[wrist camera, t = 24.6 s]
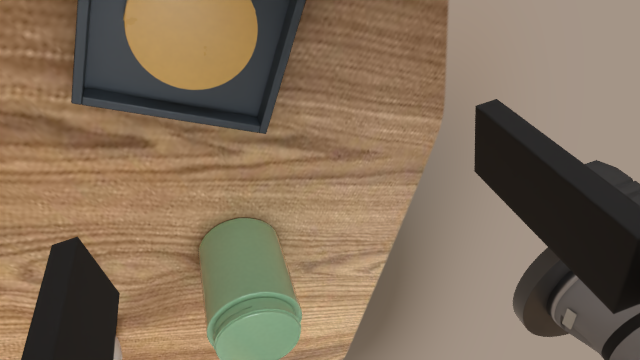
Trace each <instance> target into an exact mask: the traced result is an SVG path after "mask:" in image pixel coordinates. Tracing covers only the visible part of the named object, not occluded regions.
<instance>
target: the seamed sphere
mask: <svg viewBox="0 0 640 360" xmlns="http://www.w3.org/2000/svg"><path fill="white" fill-rule="evenodd" d="M113 360H122V351H121V346H120V342H119V340H118V338H117V337H115V348H114V359H113Z"/></svg>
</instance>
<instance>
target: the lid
mask: <svg viewBox="0 0 640 360" xmlns="http://www.w3.org/2000/svg"><path fill="white" fill-rule="evenodd" d="M255 12H256V10H255V8H254V7H253V4H252V2H251V0H127V2H126V7H125V13H124V16H123V20H124V27H125V34H126V38H127V41H128V44H129V46H130V48H131V51H132V53H133V54H134V56H135V57H136V59H137V60H138V62H139V63H140V64H141V65H142V66H143V67H144V68H145V69H146V70H147V71H148V72H149V73H150V74H151V75H153V76H154V77H155V78H157V79H159V80H160V81H162V82H164V83H166V84H169V85H171V86H174V87H177V88H182V89H188V90H203V89H209V88H213V87H216V86H219V85H222V84H224V83H226V82H228V81H229V80H231V79H232V78H234V77H235V76H236V75H238V74H239V73H240V72H241V71H242V70H243V68H244V67H245V66H246V64H247V63H248V62H249V60H250V58H251V56H252V54H253V52H254V49H255V45H256V42H257V35H258V24H257V17H256V13H255Z"/></svg>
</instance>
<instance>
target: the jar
mask: <svg viewBox="0 0 640 360" xmlns="http://www.w3.org/2000/svg"><path fill="white" fill-rule="evenodd" d="M199 264H200V274H201V283H202V293H203V303H204V312H205V322H206V331H207V337H208V340H209V342H210V343H211V345H212V346H213V347H214V349H215V351H216V354H217V356H218V357H219V359H220V360H279V359H280V358H282V357H284V356H285V355H286V354H288V353H289V352H290V351H291V350H292V349H293V348H294V347H295V345H296V344H297V342H298V340H299V338H300V333H301V324H300V323H301V319H302V311H301V307H300V304H299V301H298V298H297V295H296V291H295V288H294V285H293V282H292V279H291V275H290V272H289V269H288V266H287V263H286V259H285V256H284V253H283V250H282V247H281V243H280V240H279V237H278V235H277V233H276V231H275V230H274V229H273V228H272V227H271V226H270V225H269V224H267V223H265V222H263V221H261V220H258V219H253V218H238V219H232V220H229V221H226V222H223V223H221V224H219V225H217V226H216V227H214V228H213V229H212V230H210V231H209V232H208V233H207V234H206V235H205V237H204V238H203V240H202V242H201V244H200V247H199Z"/></svg>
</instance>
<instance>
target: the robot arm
mask: <svg viewBox="0 0 640 360" xmlns="http://www.w3.org/2000/svg"><path fill="white" fill-rule="evenodd" d="M475 117H476V118H475V121H476V122H475V123H476V124H475V172H476V173H477V174H478V175H479V176H480V177H481V178H482V179H483V180H484V181H485V183H487V185H488V186H489V187H490V188H491V189H492V190H493V191H494V192H495V193H496V194H497V195H498V196H499V197H500V198H501V199H502V200H503V201H504V202H505V203H506V204H507V205H508V206H509V207H510V208H511V209H512V210H513V211H514V212H515V213H516V214H517V215H518V216H519V217H520V218H521V219H522V220H523V222H524V223H525V224H527V226H528V227H529V228H530V229H531V230H532V231H533V232H534V233H535V234H536V235H537V236H538V237H539V238H540V239H541V240H542V241H543V242H544V243H545V244H546V245H547V246H548V247H549V248H550V249H551V250H552V251H553V252H554V253H555V254H556V255H557V257H558V258H559V259H560V260H561V261H562V262H563V263H564V264H565V265H566V266H567V267H568V268H569V269H570V270H571V271H570V272H569V273H568V274H567V275H566V276H565V277H564V278H563V279H562V280H561V281H560V282H559V283H558V284H557V286H556V287H555V288H554V290H553V292H552V293H551V295H550V297H549V300H548V304H547V311H548V314H549V315H550V316H551V318H552V319H553V320H554V321H555V322H556V324H557V325H559V326H560V327H561V328H562V329H564V330H565V331H567V332H568V333H570V334H571V335H573V336H574V337H576V338H577V339H579V340H580V341H582V342H584V343H585V344H586V345H588V346H589V347H591V348H592V349H594V350H595V351H597V352H598V353H599V354H600V355H601V356H602V357H603V358H604V360H640V184H639V183H638V182H636V181H633V180H632V178H631V177H629V176H628V175H626V174H625V173H623V172H622V171H621V170H619V169H618V168H616V167H613V166H611V165H608V164H605V163H602V162H600V161H597V160H596V161H593V162H590V163H587V164H583V163H582V162H581V161H579V160H578V159H576V158H575V157H574V156H572V155H571V154H570V153H568V152H567V151H566V150H564V149H563V148H562V147H560V146H559V145H558V144H556V143H555V142H554V141H552V140H551V139H550V138H548V137H547V136H546V135H544V134H543V133H541V132H540V131H539V130H538V129H536V128H535V127H534V126H532V125H531V124H529V123H528V122H527V121H525V120H524V119H523V118H522V117H520V116H519V115H517V114H516V113H515V112H513V111H512V110H511V109H509V108H508V107H507V106H505V105H504V104H503V103H501V102H500V101H499V100H497V99H495V100H493V101H490V102H486V103H483V104H481V105H477V106H476V116H475ZM118 304H119V292H118V291H117V289H116V288H115V287H114V285H113V284H112V283H111V281H110V280H109V279H108V277H107V276H106V275H105V273H104V272H103V270H102V269H101V268H100V266H99V265H98V264H97V262H96V261H95V260H94V258H93V257H92V256H91V254H90V253H89V251H88V250H87V249H86V247H85V246H84V245H83V243H82V242H81V241H80V239H79V238H78V237H75V238H72V239H69V240H66V241H63V242H60V243H57V244H54V245H52V247H51V251H50V255H49V258H48V262H47V266H46V270H45V273H44V277H43V281H42V284H41V288H40V292H39V295H38V299H37V303H36V306H35V310H34V314H33V318H32V321H31V325H30V329H29V332H28V336H27V340H26V343H25V347H24V351H23V355H22V358H21V360H113V359H114V348H115V337H116V326H117V315H118Z"/></svg>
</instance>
